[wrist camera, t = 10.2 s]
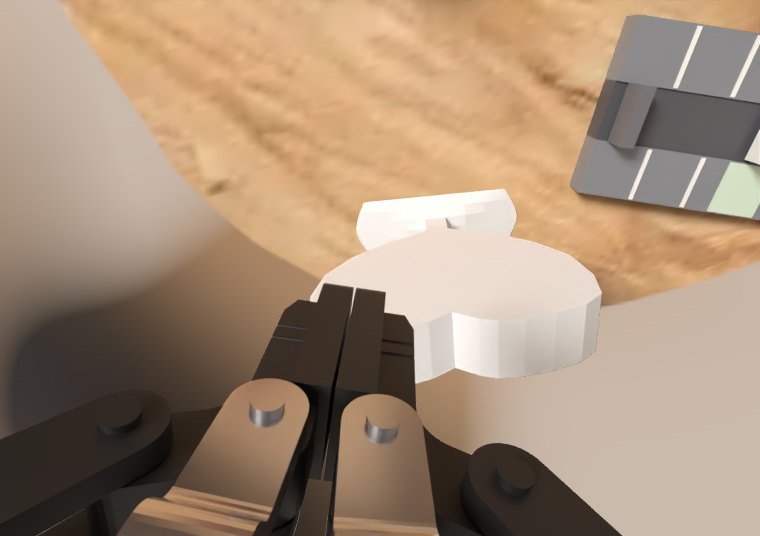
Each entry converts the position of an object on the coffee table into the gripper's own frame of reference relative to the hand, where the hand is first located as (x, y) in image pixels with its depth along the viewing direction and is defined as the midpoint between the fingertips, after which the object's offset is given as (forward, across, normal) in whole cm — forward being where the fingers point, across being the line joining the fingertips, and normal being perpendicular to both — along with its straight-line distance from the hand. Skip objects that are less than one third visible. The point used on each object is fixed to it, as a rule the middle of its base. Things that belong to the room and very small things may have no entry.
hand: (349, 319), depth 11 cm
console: (+27, -23, -4) cm, 36 cm away
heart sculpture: (+27, -5, +7) cm, 29 cm away
